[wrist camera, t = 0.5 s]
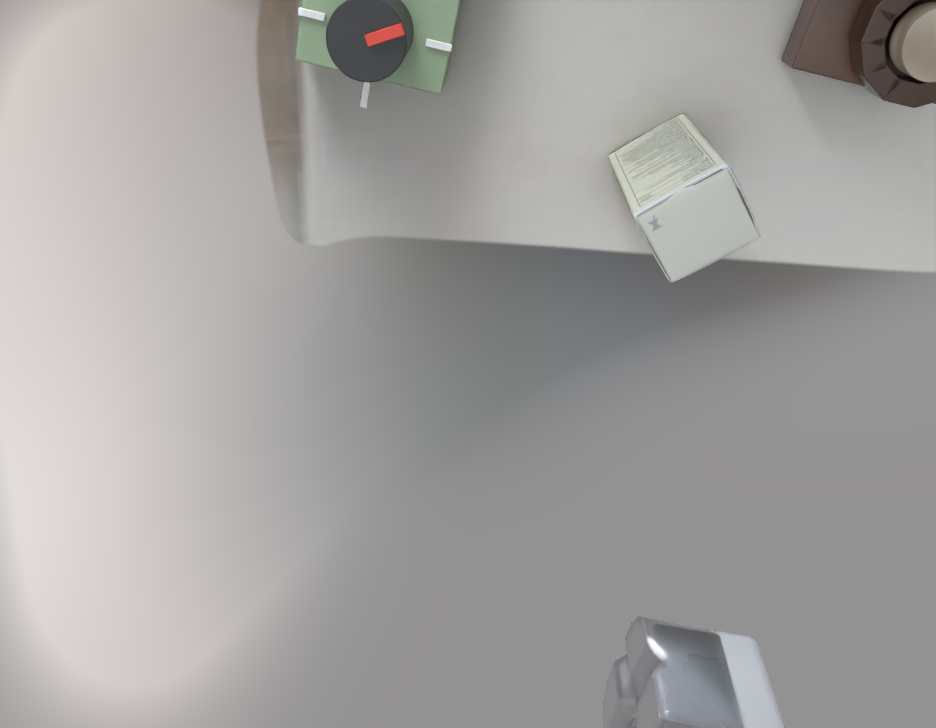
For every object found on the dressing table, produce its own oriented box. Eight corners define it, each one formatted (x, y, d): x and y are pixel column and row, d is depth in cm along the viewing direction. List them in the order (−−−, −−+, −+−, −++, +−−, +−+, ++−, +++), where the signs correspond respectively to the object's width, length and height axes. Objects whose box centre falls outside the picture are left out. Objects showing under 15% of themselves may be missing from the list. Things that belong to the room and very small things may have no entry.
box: (637, 214, 53) (664, 288, 44) (605, 153, 52) (626, 217, 42) (718, 171, 52) (765, 239, 42) (688, 107, 50) (729, 163, 41)
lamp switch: (908, -7, 44) (923, -3, 42) (976, 10, 44) (992, 15, 42) (876, 66, 45) (889, 73, 44) (941, 83, 46) (956, 90, 44)
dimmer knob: (353, 78, 47) (342, 93, 44) (326, 2, 45) (311, 12, 42) (424, 56, 47) (417, 69, 43) (398, -23, 45) (389, -14, 41)
